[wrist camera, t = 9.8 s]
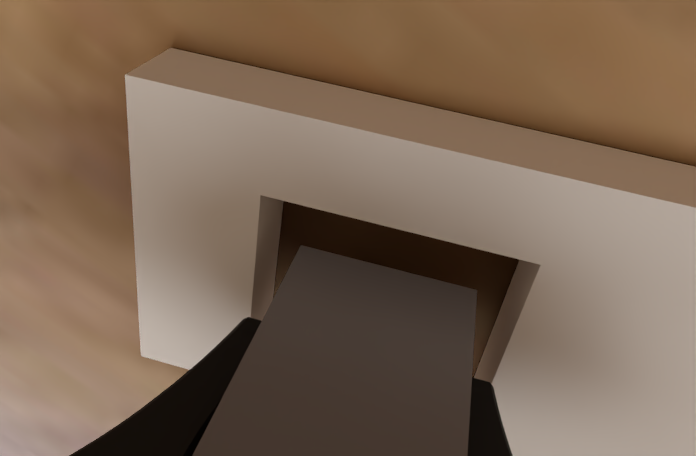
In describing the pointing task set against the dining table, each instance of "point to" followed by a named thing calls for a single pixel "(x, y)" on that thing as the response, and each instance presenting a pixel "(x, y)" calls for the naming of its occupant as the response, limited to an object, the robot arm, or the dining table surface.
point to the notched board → (432, 221)
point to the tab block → (352, 366)
